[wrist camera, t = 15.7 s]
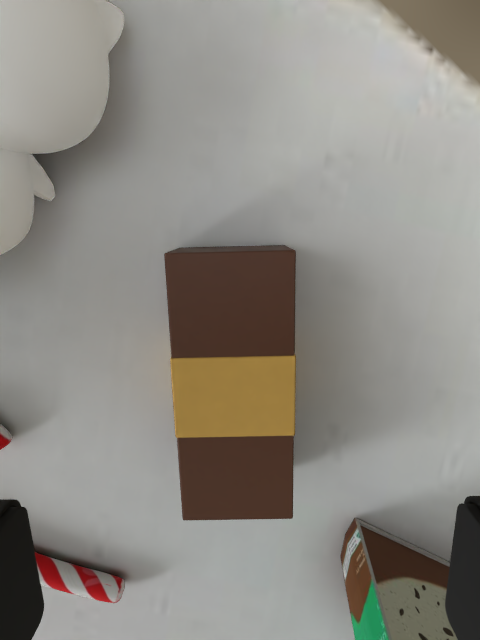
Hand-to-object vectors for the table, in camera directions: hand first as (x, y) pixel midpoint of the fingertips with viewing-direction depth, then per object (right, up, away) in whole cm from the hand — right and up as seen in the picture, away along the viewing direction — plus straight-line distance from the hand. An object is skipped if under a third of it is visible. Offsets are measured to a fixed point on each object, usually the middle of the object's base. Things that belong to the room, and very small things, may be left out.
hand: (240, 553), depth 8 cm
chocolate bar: (0, +3, +11) cm, 11 cm away
